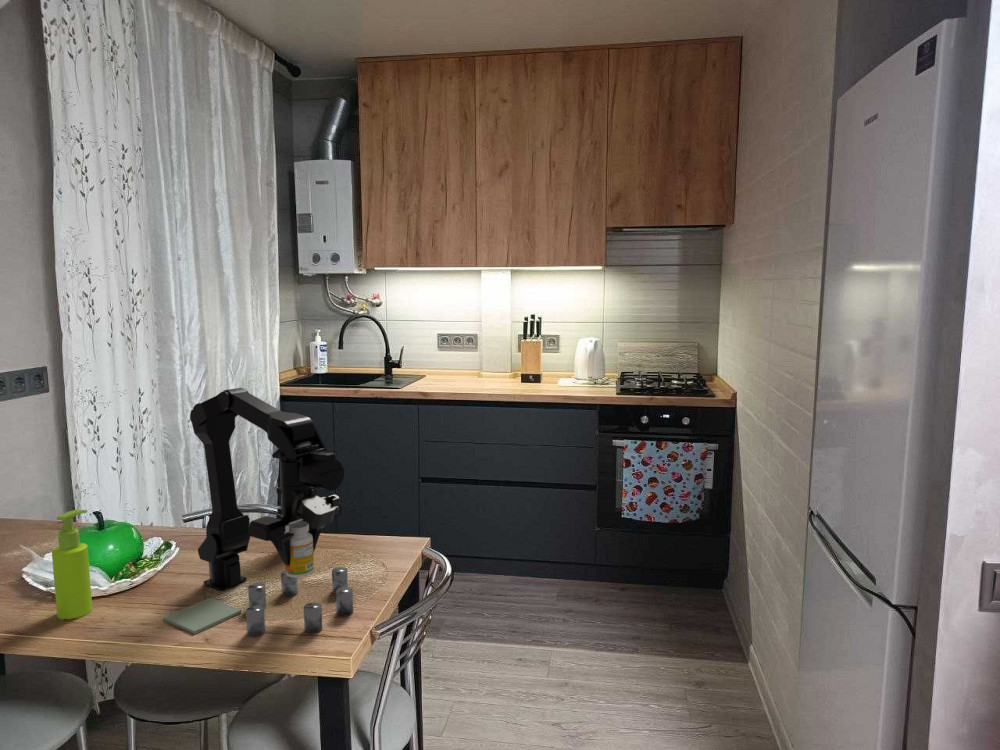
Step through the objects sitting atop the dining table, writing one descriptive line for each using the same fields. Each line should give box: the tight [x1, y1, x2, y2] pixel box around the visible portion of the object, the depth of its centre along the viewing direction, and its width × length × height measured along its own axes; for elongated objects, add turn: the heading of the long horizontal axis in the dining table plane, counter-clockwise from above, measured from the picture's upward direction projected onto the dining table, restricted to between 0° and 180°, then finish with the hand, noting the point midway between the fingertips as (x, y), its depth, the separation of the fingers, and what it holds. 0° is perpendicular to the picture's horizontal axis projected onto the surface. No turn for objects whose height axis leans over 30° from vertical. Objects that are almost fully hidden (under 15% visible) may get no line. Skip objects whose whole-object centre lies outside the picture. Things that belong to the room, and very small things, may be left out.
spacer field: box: [245, 566, 354, 638], centre depth 133 cm, size 19×24×4 cm
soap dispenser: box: [51, 509, 93, 620], centre depth 132 cm, size 6×7×20 cm
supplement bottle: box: [284, 521, 315, 579], centre depth 132 cm, size 5×5×10 cm
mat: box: [162, 597, 242, 635], centre depth 131 cm, size 10×10×1 cm
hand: (299, 559), depth 132 cm, fingers closed on supplement bottle, 5 cm apart
